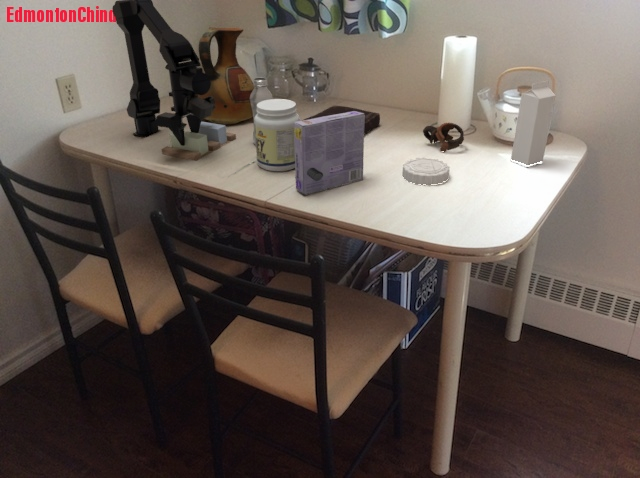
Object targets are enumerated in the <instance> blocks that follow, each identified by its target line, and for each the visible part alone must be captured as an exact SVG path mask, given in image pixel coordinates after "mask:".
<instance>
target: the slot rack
mask: <svg viewBox="0 0 640 478" xmlns="http://www.w3.org/2000/svg"><path fill="white" fill-rule="evenodd" d="M226 134H227V142H226V143H224V144H222V145H220V142H215V141H210V140H207V142H208V151H209V152H207V153H205V154H203V155H201V153H200V152H194V151H189V150H184V149H179V148H173V147H172V146H165V147H163V148H161V154H162V155H164V156H165V155H166V156H170V157H175V158H179V159H185V160H189V161H195V162H197V161H198V160H200V159H202V158H204V157H206V156H208V155H210V154H211V153H213V152H214V151H217V150H219V149H221V148H222V147H224V146H226V145H228V144H230V143H231V142H234V141H235V140H236V139H237V135H236V133H232V132H227V131H226Z"/></svg>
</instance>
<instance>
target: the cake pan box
mask: <svg viewBox="0 0 640 478" xmlns="http://www.w3.org/2000/svg"><path fill="white" fill-rule="evenodd" d="M302 120H303V121H302ZM302 120H300V121H297V122H294V144H295V168H294V170H295V175H294V176H295V190H297V191H298V192H300V193H301V194H302V195H303V196H307V195H310V194H314V193H318V192H322V191H325V190H331V189H335V188H338V187H342V186H344V185H347V184H351V183H354V182H358V181H363V180H364V153H365V152H364V149H365V147H364V146H365V145H364V143H365V134H364V123H365V115H364V113H360V112H357V111H352V112H346V113H341V114H336V115H330V116H324V117H319V118H314V119H308V120H304V119H302Z"/></svg>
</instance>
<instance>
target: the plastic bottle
mask: <svg viewBox="0 0 640 478" xmlns="http://www.w3.org/2000/svg"><path fill="white" fill-rule="evenodd" d="M253 84H254V87H255V88H254V89H253V91H252V93H251V94H250V103H251V107H252V112H253V117H252V119H253V120H254V118H255V116H256V114H257V104H258V103H259V102H261V101H264V100H270V99H274V97H273V94H272V92H271V91H270V90H269V88H268V87H267V86H268V79H267V77H255V78H253ZM252 141H253V144H254V145H255V146H256V138H255V124H254V123H253V134H252Z"/></svg>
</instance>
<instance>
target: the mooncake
mask: <svg viewBox="0 0 640 478" xmlns="http://www.w3.org/2000/svg"><path fill="white" fill-rule="evenodd" d="M402 176H403V177H404V178H403V177H402ZM402 176H401V177H402V178H403V180H404V179H406V180H405V181H408V183H410V182H412V183H411V184H413V183H415V184H414V185H418V184H421V185H423V184H426V185H431V184H438V183H442V182H443V181H446V180H447V179H448V178H450V166H449V165H448V163H445V162H444V161H443V160H439V159H436V158H429V157H416V158H415V159H410V160H407V161H405V162H404V163H403V165H402ZM448 180H449V179H448ZM448 180H447V181H448ZM421 185H420V186H421ZM438 185H439V184H438ZM431 186H432V185H431Z"/></svg>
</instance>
